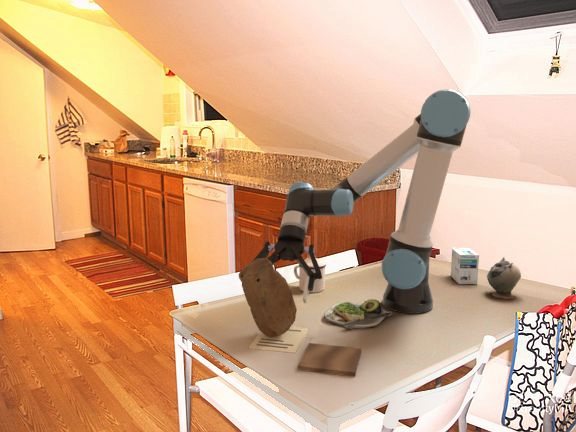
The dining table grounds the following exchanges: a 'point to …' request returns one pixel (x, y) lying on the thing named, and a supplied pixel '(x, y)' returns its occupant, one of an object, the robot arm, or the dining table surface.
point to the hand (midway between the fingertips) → (279, 298)
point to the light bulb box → (464, 266)
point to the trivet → (330, 359)
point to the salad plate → (357, 314)
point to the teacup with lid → (318, 283)
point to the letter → (280, 341)
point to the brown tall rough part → (268, 297)
